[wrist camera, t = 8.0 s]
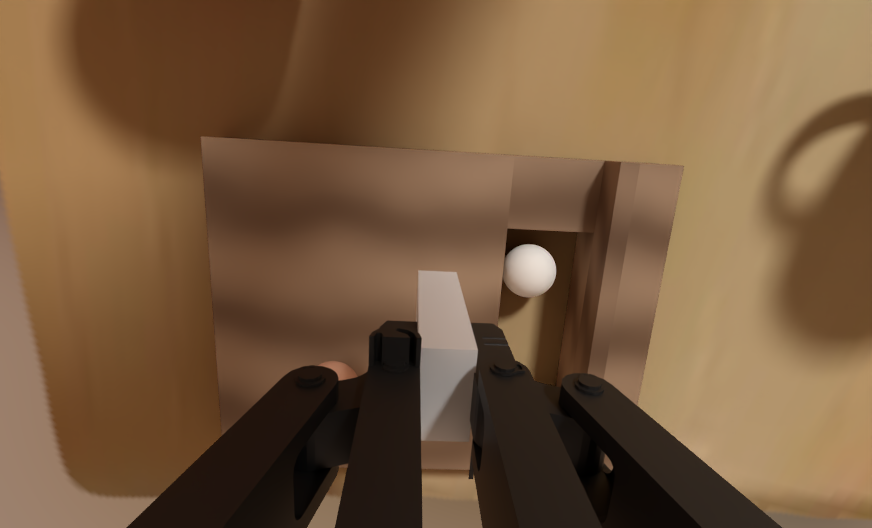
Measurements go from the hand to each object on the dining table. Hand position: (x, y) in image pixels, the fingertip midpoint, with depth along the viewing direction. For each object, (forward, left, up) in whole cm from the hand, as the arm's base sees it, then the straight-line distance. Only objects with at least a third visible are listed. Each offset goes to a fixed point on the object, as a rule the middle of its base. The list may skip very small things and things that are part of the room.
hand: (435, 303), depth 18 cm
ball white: (+1, +6, -9) cm, 11 cm away
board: (+4, +1, -10) cm, 11 cm away
